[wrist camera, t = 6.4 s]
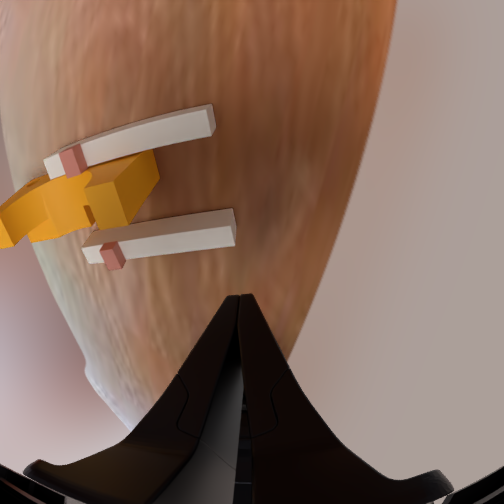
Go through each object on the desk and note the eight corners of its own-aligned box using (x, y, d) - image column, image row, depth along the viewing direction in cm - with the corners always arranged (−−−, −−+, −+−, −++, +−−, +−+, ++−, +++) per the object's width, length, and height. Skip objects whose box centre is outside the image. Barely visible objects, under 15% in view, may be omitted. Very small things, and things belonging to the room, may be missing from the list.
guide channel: (236, 228, 22) (234, 256, 19) (100, 247, 23) (85, 273, 20) (211, 102, 16) (203, 110, 14) (60, 147, 17) (34, 163, 15)
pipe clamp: (49, 222, 21) (11, 267, 16) (31, 179, 19) (-15, 219, 14) (166, 199, 21) (139, 252, 15) (152, 143, 18) (113, 181, 13)
